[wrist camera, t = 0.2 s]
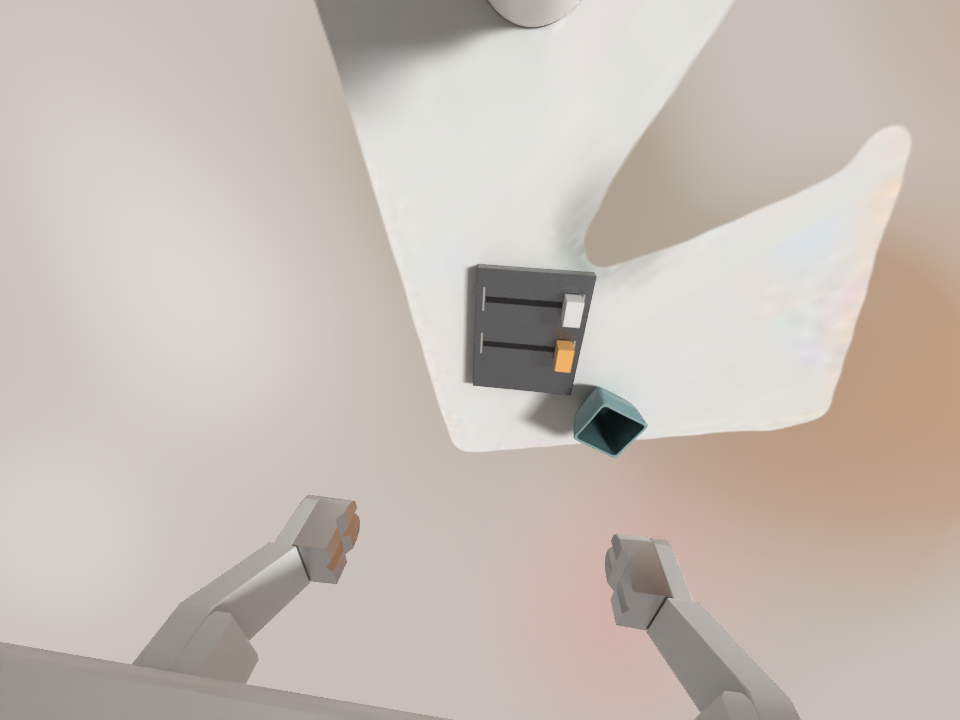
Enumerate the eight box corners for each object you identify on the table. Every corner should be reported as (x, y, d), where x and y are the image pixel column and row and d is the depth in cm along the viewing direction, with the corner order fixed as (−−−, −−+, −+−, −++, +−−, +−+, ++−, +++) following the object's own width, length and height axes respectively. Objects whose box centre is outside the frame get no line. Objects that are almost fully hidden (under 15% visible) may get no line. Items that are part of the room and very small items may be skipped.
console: (479, 264, 54) (477, 267, 52) (594, 272, 53) (596, 276, 51) (474, 379, 65) (472, 385, 63) (569, 388, 64) (570, 395, 62)
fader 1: (564, 293, 53) (567, 301, 50) (581, 295, 52) (584, 303, 49) (560, 317, 55) (562, 326, 52) (576, 318, 54) (579, 328, 51)
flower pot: (566, 407, 66) (572, 439, 58) (593, 373, 62) (603, 403, 54) (604, 425, 67) (615, 459, 59) (634, 393, 63) (649, 425, 55)
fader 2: (556, 339, 57) (558, 349, 54) (571, 341, 56) (574, 351, 53) (553, 360, 59) (554, 371, 56) (567, 361, 58) (570, 372, 55)
